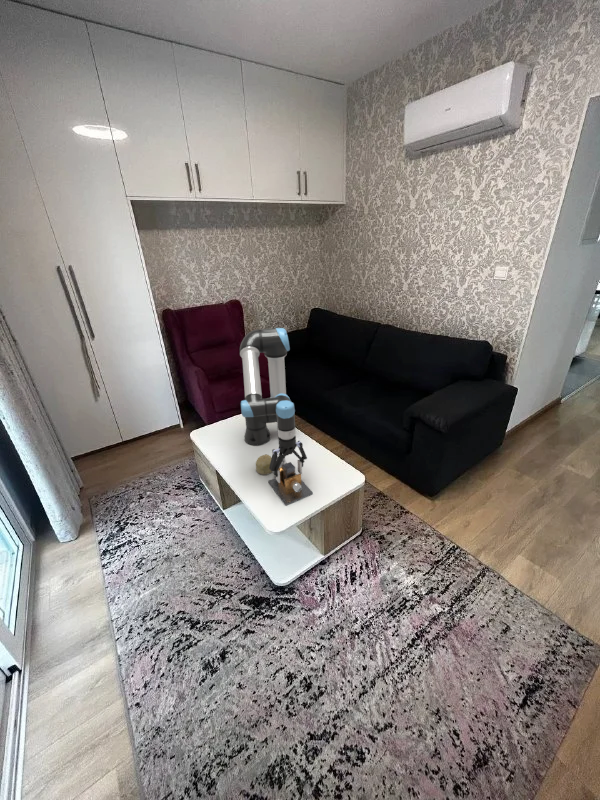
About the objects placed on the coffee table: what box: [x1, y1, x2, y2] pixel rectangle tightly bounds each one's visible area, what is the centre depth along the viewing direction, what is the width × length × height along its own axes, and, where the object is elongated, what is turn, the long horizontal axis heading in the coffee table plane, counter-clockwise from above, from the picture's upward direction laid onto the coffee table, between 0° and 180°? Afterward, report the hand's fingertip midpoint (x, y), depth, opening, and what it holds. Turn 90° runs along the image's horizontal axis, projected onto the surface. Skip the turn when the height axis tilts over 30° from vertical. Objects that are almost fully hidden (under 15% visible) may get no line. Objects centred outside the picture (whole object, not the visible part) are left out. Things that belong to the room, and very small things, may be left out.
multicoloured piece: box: [267, 456, 314, 507], centre depth 152 cm, size 22×14×12 cm, turn 29°
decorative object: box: [255, 454, 273, 476], centre depth 165 cm, size 9×10×10 cm
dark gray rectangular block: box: [283, 461, 296, 485], centre depth 150 cm, size 4×4×12 cm
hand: (289, 476), depth 151 cm, fingers open, 10 cm apart
